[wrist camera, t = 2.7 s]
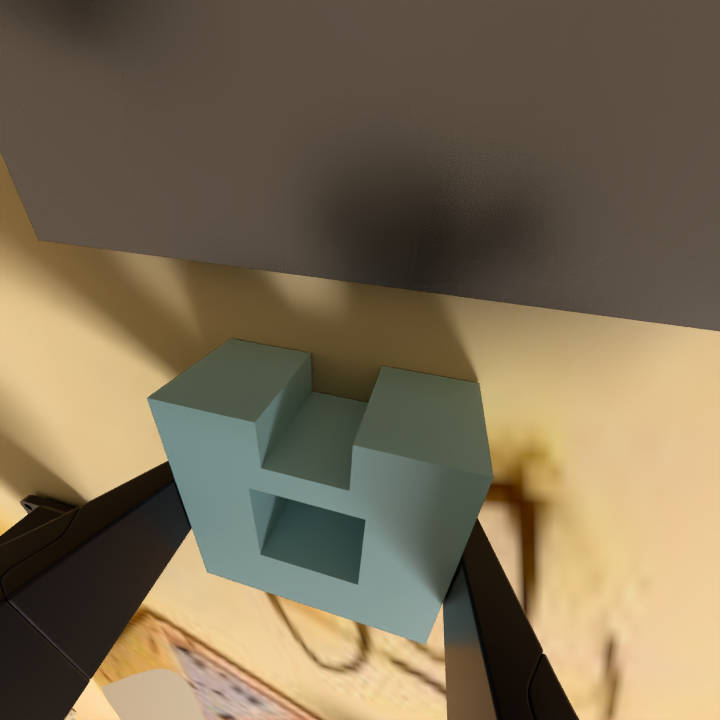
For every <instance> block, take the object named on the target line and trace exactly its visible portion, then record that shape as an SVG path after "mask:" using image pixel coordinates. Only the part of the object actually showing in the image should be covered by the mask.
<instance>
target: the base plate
mask: <svg viewBox="0 0 720 720" xmlns="http://www.w3.org/2000/svg"><path fill="white" fill-rule="evenodd" d="M0 151H1V154H2V156H3V158H4V161H5V163H6V165H7V168H8V170H9V172H10V175H11V177H12V179H13V182H14V184H15V186H16V189H17V191H18V193H19V196H20V198H21V201H22V203H23V205H24V208H25V210H26V212H27V215H28V217H29V219H30V222H31V224H32V226H33V229H34V231H35V233H36V236H37V238H38V240H41V241H48V242H56V243H63V244H71V245H78V246H86V247H93V248H101V249H108V250H116V251H123V252H131V253H138V254H146V255H153V256H161V257H168V258H176V259H183V260H191V261H198V262H206V263H213V264H220V265H228V266H235V267H243V268H250V269H258V270H265V271H273V272H280V273H288V274H295V275H303V276H310V277H318V278H325V279H333V280H340V281H348V282H355V283H363V284H370V285H378V286H385V287H392V288H400V289H407V290H415V291H422V292H430V293H437V294H445V295H452V296H460V297H467V298H475V299H482V300H490V301H497V302H505V303H512V304H520V305H527V306H535V307H542V308H550V309H557V310H564V311H572V312H579V313H587V314H594V315H602V316H609V317H617V318H624V319H632V320H639V321H647V322H654V323H662V324H669V325H677V326H684V327H692V328H699V329H707V330H714V331H720V0H0Z"/></svg>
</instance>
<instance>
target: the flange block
mask: <svg viewBox="0 0 720 720" xmlns="http://www.w3.org/2000/svg"><path fill="white" fill-rule="evenodd" d="M147 400H148V403H149V406H150V408H151V411H152V414H153V417H154V420H155V423H156V426H157V429H158V432H159V434H160V437H161V440H162V443H163V446H164V449H165V452H166V455H167V458H168V461H169V463H170V466H171V469H172V472H173V475H174V478H175V481H176V484H177V487H178V489H179V492H180V495H181V498H182V501H183V504H184V507H185V510H186V513H187V516H188V518H189V521H190V524H191V527H192V530H193V533H194V536H195V539H196V542H197V544H198V547H199V550H200V553H201V556H202V559H203V562H204V565H205V568H206V571H207V572H208V573H211V574H214V575H217V576H220V577H223V578H226V579H229V580H232V581H235V582H238V583H241V584H244V585H247V586H250V587H253V588H256V589H259V590H262V591H265V592H268V593H271V594H274V595H277V596H280V597H283V598H286V599H289V600H292V601H295V602H298V603H301V604H304V605H307V606H310V607H313V608H317V609H320V610H323V611H326V612H329V613H332V614H335V615H338V616H341V617H344V618H347V619H350V620H353V621H356V622H359V623H362V624H365V625H368V626H371V627H374V628H377V629H380V630H383V631H386V632H389V633H392V634H395V635H398V636H401V637H404V638H407V639H410V640H413V641H416V642H419V643H422V644H425V645H426V642H427V640H428V637H429V635H430V632H431V630H432V627H433V625H434V622H435V620H436V618H437V615H438V613H439V610H440V608H441V605H442V603H443V600H444V598H445V595H446V593H447V591H448V588H449V586H450V583H451V581H452V578H453V576H454V573H455V571H456V568H457V566H458V563H459V561H460V559H461V556H462V554H463V551H464V549H465V546H466V544H467V541H468V539H469V536H470V534H471V532H472V529H473V527H474V524H475V522H476V519H477V517H478V514H479V512H480V509H481V507H482V505H483V502H484V500H485V497H486V495H487V492H488V490H489V487H490V485H491V482H492V480H493V470H492V464H491V457H490V451H489V444H488V437H487V431H486V424H485V418H484V411H483V404H482V398H481V391H480V385H479V383H475V382H469V381H464V380H458V379H453V378H447V377H441V376H436V375H430V374H425V373H419V372H414V371H408V370H402V369H397V368H391V367H386V366H382V367H381V370H380V373H379V375H378V378H377V381H376V383H375V386H374V389H373V392H372V394H371V397H370V400H369V403H368V402H363V401H358V400H353V399H348V398H343V397H338V396H333V395H328V394H323V393H318V392H313V391H312V365H311V353H308V352H302V351H297V350H291V349H286V348H280V347H274V346H269V345H263V344H258V343H252V342H247V341H241V340H235V339H229V340H228V341H227V342H225V343H224V344H222V345H221V346H219V347H218V348H217V349H215V350H214V351H212V352H211V353H210V354H208V355H207V356H205V357H204V358H203V359H201V360H200V361H198V362H197V363H196V364H194V365H193V366H191V367H190V368H188V369H187V370H186V371H184V372H183V373H181V374H180V375H179V376H177V377H176V378H174V379H173V380H172V381H170V382H169V383H167V384H166V385H164V386H163V387H162V388H160V389H159V390H157V391H156V392H155V393H153V394H152V395H150V396H149V397H148V398H147Z"/></svg>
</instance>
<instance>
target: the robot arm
mask: <svg viewBox="0 0 720 720" xmlns="http://www.w3.org/2000/svg"><path fill="white" fill-rule="evenodd" d="M20 503H21V505H22V506H23V507H24V509H25V510H26V511H27V513H28V515H27V516H25V517H24V518H23V519H22V520H20V521H19V522H18V523H16V524H15V525H14V526H13V527H11V528H10V529H9V530H8V531H6V532H5V533H4V534H2V535H1V536H0V720H64V719H65V718H66V716H67V715H68V713H69V712H70V710H71V709H72V707H73V706H74V704H75V703H76V701H77V700H78V698H79V697H80V695H81V694H82V692H83V691H84V689H85V688H86V686H87V685H88V683H89V681H90V680H89V679H91V678H92V677H93V675H94V674H95V672H96V671H97V669H98V668H99V666H100V665H101V663H102V662H103V660H104V659H105V657H106V656H107V654H108V653H109V651H110V650H111V648H112V647H113V645H114V644H115V642H116V641H117V639H118V638H119V636H120V635H121V633H122V632H123V630H124V629H125V627H126V626H127V624H128V623H129V621H130V620H131V618H132V617H133V615H134V614H135V612H136V611H137V609H138V608H139V606H140V605H141V603H142V602H143V600H144V599H145V597H146V596H147V594H148V593H149V591H150V590H151V588H152V587H153V585H154V584H155V582H156V581H157V579H158V578H159V576H160V575H161V573H162V572H163V570H164V569H165V567H166V566H167V564H168V563H169V561H170V560H171V558H172V557H173V555H174V554H175V552H176V551H177V549H178V548H179V546H180V545H181V543H182V542H183V540H184V539H185V537H186V536H187V534H188V533H189V531H190V530H191V528H192V527H191V524H190V521H189V518H188V516H187V513H186V510H185V507H184V504H183V501H182V498H181V495H180V492H179V489H178V487H177V484H176V481H175V478H174V475H173V472H172V469H171V466H170V463H169V461H167V462H165V463H163V464H161V465H159V466H157V467H155V468H153V469H151V470H149V471H147V472H145V473H143V474H141V475H139V476H138V477H136V478H134V479H132V480H130V481H128V482H126V483H124V484H122V485H120V486H118V487H116V488H114V489H112V490H111V491H109V492H107V493H105V494H103V495H101V496H99V497H97V498H95V499H93V500H91V501H89V502H87V503H85V504H83V505H82V506H81V507H78V508H76V509H75V508H71V507H68V506H65V505H62V504H59V503H56V502H52V501H49V500H46V499H43V498H40V497H37V496H33V495H28V496H27V497H26V498H24V499H23V500H22V501H20ZM443 619H444V645H445V671H446V697H447V720H579V718H578V716H577V715H576V713H575V711H574V709H573V707H572V705H571V703H570V702H569V700H568V698H567V696H566V694H565V692H564V690H563V688H562V686H561V684H560V682H559V680H558V679H557V677H556V675H555V673H554V671H553V668H552V666H551V664H550V662H549V660H548V658H547V656H546V655H545V654H542V653H543V649H542V647H541V645H540V643H539V641H538V639H537V637H536V635H535V633H534V631H533V629H532V627H531V625H530V623H529V621H528V619H527V616H526V614H525V612H524V610H523V608H522V606H521V604H520V602H519V600H518V598H517V596H516V594H515V592H514V590H513V588H512V586H511V584H510V582H509V580H508V578H507V576H506V574H505V572H504V570H503V568H502V566H501V564H500V562H499V560H498V558H497V556H496V554H495V552H494V550H493V548H492V546H491V544H490V542H489V540H488V538H487V536H486V534H485V532H484V530H483V528H482V526H481V524H480V522H479V520H478V518H477V519H476V522H475V524H474V527H473V529H472V532H471V534H470V536H469V539H468V541H467V544H466V546H465V549H464V551H463V554H462V556H461V559H460V561H459V563H458V566H457V568H456V571H455V573H454V576H453V578H452V581H451V583H450V586H449V588H448V591H447V593H446V595H445V598H444V600H443Z"/></svg>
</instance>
